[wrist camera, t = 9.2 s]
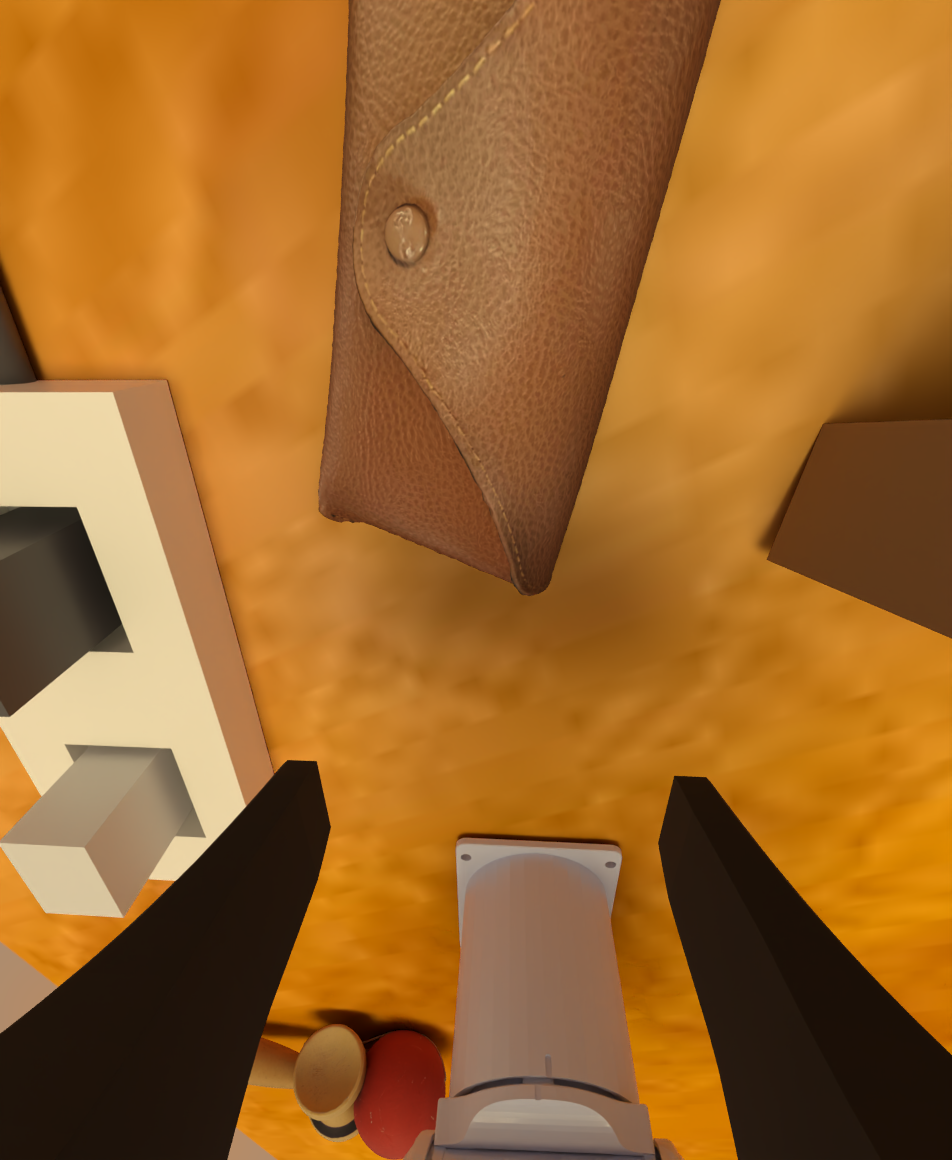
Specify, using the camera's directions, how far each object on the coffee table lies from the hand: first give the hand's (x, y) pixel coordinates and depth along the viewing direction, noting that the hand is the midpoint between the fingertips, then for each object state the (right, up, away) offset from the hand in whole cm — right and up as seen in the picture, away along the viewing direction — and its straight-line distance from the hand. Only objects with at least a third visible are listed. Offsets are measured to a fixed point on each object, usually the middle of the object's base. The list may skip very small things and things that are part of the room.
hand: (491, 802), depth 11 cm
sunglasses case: (0, +14, +4) cm, 14 cm away
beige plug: (-14, -3, +13) cm, 19 cm away
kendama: (-11, -27, +26) cm, 40 cm away
